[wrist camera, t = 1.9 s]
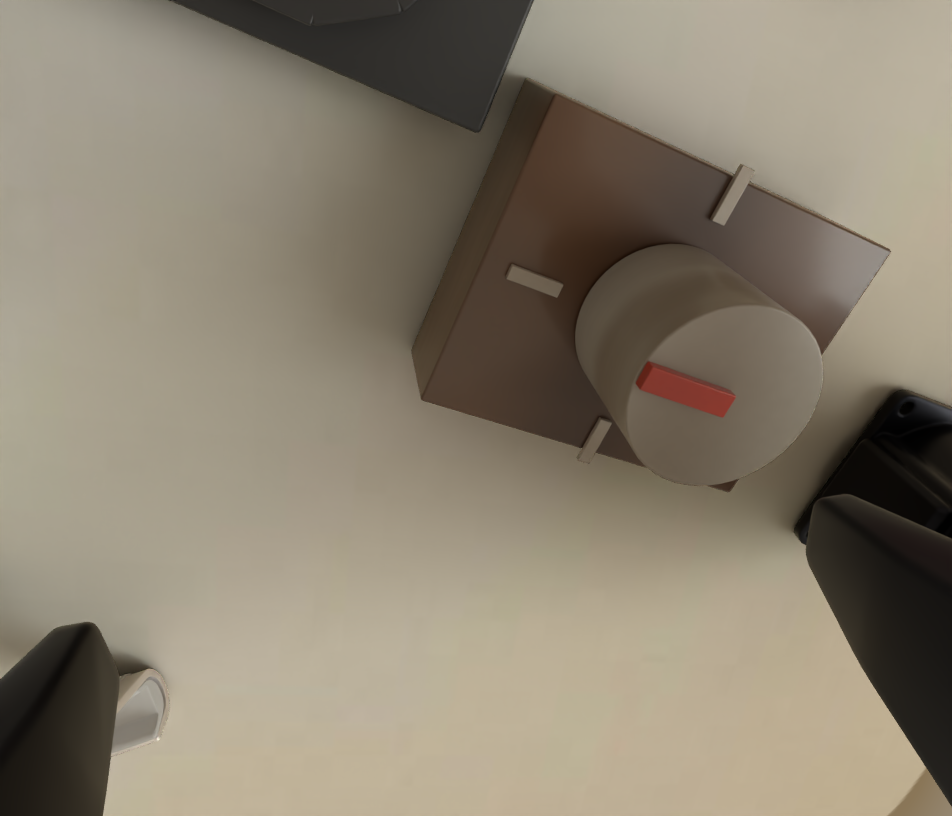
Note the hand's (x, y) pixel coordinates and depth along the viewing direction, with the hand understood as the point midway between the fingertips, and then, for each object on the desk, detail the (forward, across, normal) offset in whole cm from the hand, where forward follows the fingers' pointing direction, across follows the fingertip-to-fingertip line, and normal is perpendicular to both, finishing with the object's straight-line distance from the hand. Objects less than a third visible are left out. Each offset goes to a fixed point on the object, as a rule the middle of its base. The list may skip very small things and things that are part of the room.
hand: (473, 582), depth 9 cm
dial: (+10, -6, +2) cm, 12 cm away
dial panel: (+13, -6, +2) cm, 15 cm away
